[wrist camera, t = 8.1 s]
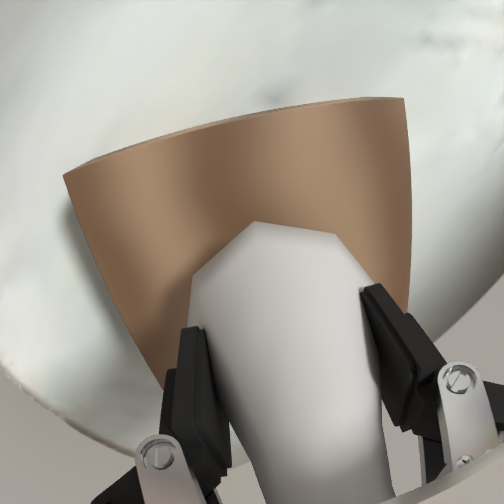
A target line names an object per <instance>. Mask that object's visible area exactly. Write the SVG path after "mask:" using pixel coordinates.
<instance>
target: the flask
mask: <svg viewBox="0 0 504 504" xmlns="http://www.w3.org/2000/svg"><path fill="white" fill-rule="evenodd" d="M373 284H374V282H373V281H372V279H371V278H370V277H369V276H368V274H367V273H366V272H365V270H364V269H363V268H362V267H361V265H360V264H359V263H358V261H357V260H356V259H355V258H354V256H353V255H352V254H351V253H350V251H349V250H348V249H347V248H346V247H345V245H344V244H343V243H342V242H341V240H340V239H339V238H338V237H337V235H336V234H333V233H327V232H321V231H315V230H308V229H302V228H296V227H290V226H283V225H277V224H270V223H264V222H257V221H253V222H252V223H251V224H250V225H249V226H248V227H247V228H245V229H244V230H243V231H242V232H241V233H240V234H239V235H238V236H236V237H235V238H234V239H233V240H232V241H231V242H230V243H229V244H227V245H226V246H225V247H224V248H223V249H222V250H221V251H220V252H218V253H217V254H216V255H215V256H214V257H213V258H212V259H211V260H210V261H208V262H207V263H206V264H205V265H204V266H203V267H202V268H201V269H200V270H198V271H197V272H196V273H195V274H194V275H193V277H192V286H191V295H190V304H189V314H188V324H187V328H188V327H193V326H198V327H199V328H200V329H205V334H206V339H207V345H208V350H209V355H210V360H211V365H212V371H213V376H214V381H215V385H216V390H217V395H218V400H219V402H220V404H221V406H222V408H223V410H224V412H225V414H226V416H227V418H228V420H229V422H230V424H231V425H232V427H233V429H234V431H235V433H236V435H237V437H238V439H239V440H240V442H241V444H242V446H243V448H244V450H245V451H246V453H247V455H248V457H249V459H250V460H251V463H252V465H253V468H254V471H255V474H256V477H257V479H258V482H259V485H260V488H261V490H262V493H263V496H264V498H265V501H266V503H267V504H378V503H381V502H384V501H387V500H389V499H392V498H395V497H396V496H395V493H394V490H393V487H392V482H391V476H390V469H389V462H388V456H387V450H386V444H385V438H384V433H383V427H382V403H381V378H380V361H379V352H378V349H377V346H376V342H375V339H374V336H373V333H372V329H371V326H370V323H369V320H368V317H367V313H366V310H365V307H364V304H363V301H362V298H361V295H360V292H363V291H364V287H366V286H370V285H373Z"/></svg>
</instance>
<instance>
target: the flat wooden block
mask: <svg viewBox="0 0 504 504" xmlns="http://www.w3.org/2000/svg"><path fill="white" fill-rule="evenodd" d="M63 178H64V181H65V184H66V187H67V190H68V193H69V196H70V199H71V201H72V204H73V207H74V210H75V212H76V215H77V218H78V220H79V223H80V225H81V228H82V230H83V233H84V235H85V238H86V240H87V243H88V245H89V248H90V250H91V252H92V255H93V257H94V259H95V262H96V264H97V266H98V268H99V271H100V273H101V275H102V277H103V279H104V282H105V284H106V286H107V288H108V290H109V292H110V294H111V296H112V298H113V300H114V303H115V305H116V307H117V309H118V311H119V313H120V314H121V316H122V318H123V320H124V322H125V324H126V326H127V328H128V330H129V332H130V334H131V335H132V337H133V339H134V341H135V343H136V345H137V346H138V348H139V350H140V352H141V353H142V355H143V357H144V359H145V360H146V362H147V364H148V366H149V367H150V369H151V371H152V372H153V374H154V376H155V377H156V379H157V381H158V382H159V384H160V386H161V387H162V389H163V390H164V385H165V377H166V372H167V370H168V369H172V368H177V359H178V351H179V342H180V334H181V329H182V328H187V324H188V314H189V304H190V295H191V286H192V277H193V275H194V274H195V273H196V272H197V271H198V270H200V269H201V268H202V267H203V266H204V265H205V264H206V263H207V262H208V261H210V260H211V259H212V258H213V257H214V256H215V255H216V254H217V253H218V252H220V251H221V250H222V249H223V248H224V247H225V246H226V245H227V244H229V243H230V242H231V241H232V240H233V239H234V238H235V237H236V236H238V235H239V234H240V233H241V232H242V231H243V230H244V229H245V228H247V227H248V226H249V225H250V224H251V223H252V222H253V221H257V222H264V223H270V224H277V225H283V226H290V227H296V228H302V229H308V230H315V231H321V232H327V233H333V234H336V235H337V237H338V238H339V239H340V240H341V242H342V243H343V244H344V245H345V247H346V248H347V249H348V250H349V251H350V253H351V254H352V255H353V256H354V258H355V259H356V260H357V261H358V263H359V264H360V265H361V267H362V268H363V269H364V270H365V272H366V273H367V274H368V276H369V277H370V278H371V279H372V281H373V282H374V284H377V283H381V284H382V285H383V287H384V288H385V289H386V291H387V292H388V293H389V295H390V296H391V297H392V298H393V300H394V301H395V302H396V304H397V305H398V306H399V308H400V309H401V310H402V312H403V313H404V314H405V313H407V307H408V296H409V284H410V268H411V243H412V193H411V169H410V153H409V141H408V130H407V121H406V112H405V104H404V98H392V97H360V98H350V99H341V100H332V101H324V102H317V103H310V104H303V105H297V106H290V107H284V108H279V109H273V110H268V111H262V112H257V113H252V114H247V115H243V116H238V117H233V118H229V119H225V120H220V121H216V122H212V123H208V124H204V125H200V126H196V127H192V128H188V129H185V130H181V131H177V132H174V133H170V134H167V135H163V136H160V137H157V138H153V139H150V140H147V141H144V142H141V143H138V144H134V145H131V146H128V147H125V148H122V149H120V150H117V151H114V152H111V153H108V154H105V155H103V156H100V157H97V158H94V159H92V160H90V161H88V162H86V163H84V164H82V165H80V166H78V167H77V168H75V169H73V170H71V171H69V172H67V173H65V174H64V175H63Z"/></svg>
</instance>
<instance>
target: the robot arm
mask: <svg viewBox="0 0 504 504" xmlns="http://www.w3.org/2000/svg"><path fill="white" fill-rule="evenodd" d="M360 295H361V298H362V301H363V304H364V307H365V310H366V313H367V317H368V320H369V323H370V326H371V329H372V333H373V336H374V339H375V342H376V346H377V349H378V352H379V361H380V378H381V398H382V401H383V402H384V405H385V407H386V409H387V411H388V413H389V416H390V418H391V420H392V422H393V424H394V426H400V428H401V430H402V432H405V431H408V430H410V429H411V430H412V432H413V434H415V435H418V440H419V451H420V463H421V479H422V486H421V487H419V488H417V489H415V490H412V491H410V492H407V493H405V494H403V495H400V496H397V497H395V498H392V499H389V500H387V501H384V502H381V503H378V504H504V385H500V384H495V383H491V382H486V381H482V378H481V375H480V373H479V371H478V370H477V369H476V368H475V367H474V366H473V365H471V364H469V363H467V362H463V361H454V362H451V363H448V364H447V363H446V361H445V360H444V358H443V357H442V355H441V354H440V353H439V351H438V350H437V348H436V347H435V346H434V344H433V343H432V341H431V340H430V339H429V337H428V336H427V335H426V333H425V332H424V331H423V329H422V328H421V327H420V325H419V324H418V323H417V321H416V320H415V319H414V317H413V316H412V315H411V314H410V313H405V314H404V313H403V312H402V310H401V309H400V308H399V306H398V305H397V304H396V302H395V301H394V300H393V298H392V297H391V296H390V295H389V293H388V292H387V291H386V289H385V288H384V287H383V285H382V284H381V283H377V284H373V285H370V286H366V287H364V291H363V292H360ZM135 462H136V466H134V467H133V468H132V469H131V470H130V471H128V472H127V473H126V474H125V475H123V476H122V477H121V478H120V479H119V480H117V481H116V482H115V483H114V484H113V485H111V486H110V487H109V488H107V489H106V490H105V491H103V492H102V493H101V494H100V495H98V496H97V497H96V498H95V499H94V500H93V501H92V502H91V504H223V503H222V502H221V499H220V497H219V494H218V492H217V490H216V487H217V486H218V485H219V484H220V483H221V477H224V476H227V468H231V467H232V458H231V444H230V429H229V420H228V418H227V416H226V414H225V412H224V410H223V408H222V406H221V404H220V402H219V400H218V395H217V390H216V385H215V381H214V376H213V371H212V365H211V360H210V355H209V350H208V345H207V339H206V334H205V329H200V328H199V327H198V326H193V327H188V328H182V329H181V334H180V342H179V351H178V359H177V368H172V369H168V370H167V372H166V377H165V385H164V393H163V401H162V409H161V418H160V427H159V435H154V436H151V437H149V438H147V439H145V440H144V441H143V442H142V443H141V444H140V445H139V447H138V448H137V450H136V454H135Z"/></svg>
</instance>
